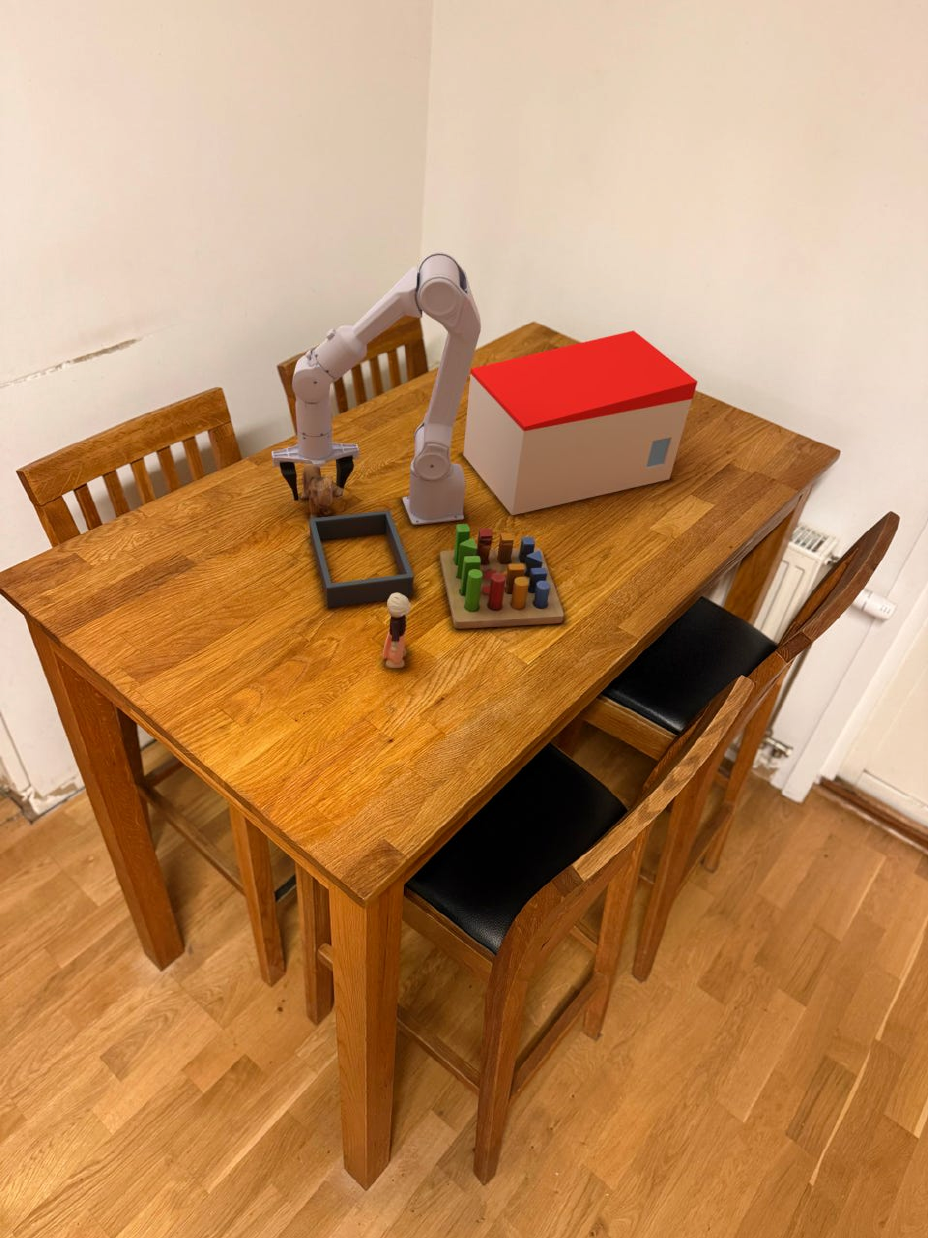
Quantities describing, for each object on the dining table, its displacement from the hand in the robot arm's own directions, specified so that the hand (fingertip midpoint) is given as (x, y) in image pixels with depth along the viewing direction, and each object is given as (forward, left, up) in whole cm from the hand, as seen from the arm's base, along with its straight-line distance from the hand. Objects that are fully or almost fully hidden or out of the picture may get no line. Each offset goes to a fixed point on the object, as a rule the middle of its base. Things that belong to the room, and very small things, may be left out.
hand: (317, 495), depth 156 cm
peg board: (-25, +28, -2) cm, 38 cm away
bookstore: (-49, -4, -2) cm, 49 cm away
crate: (-4, +18, -2) cm, 19 cm away
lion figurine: (0, 0, -2) cm, 2 cm away
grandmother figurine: (-5, +40, -2) cm, 40 cm away
